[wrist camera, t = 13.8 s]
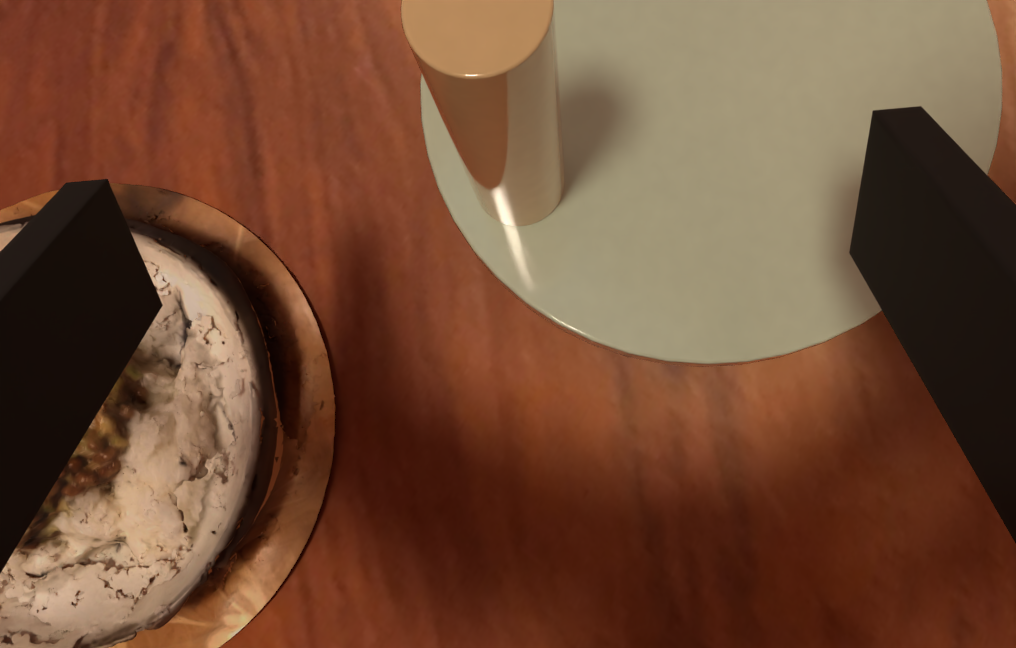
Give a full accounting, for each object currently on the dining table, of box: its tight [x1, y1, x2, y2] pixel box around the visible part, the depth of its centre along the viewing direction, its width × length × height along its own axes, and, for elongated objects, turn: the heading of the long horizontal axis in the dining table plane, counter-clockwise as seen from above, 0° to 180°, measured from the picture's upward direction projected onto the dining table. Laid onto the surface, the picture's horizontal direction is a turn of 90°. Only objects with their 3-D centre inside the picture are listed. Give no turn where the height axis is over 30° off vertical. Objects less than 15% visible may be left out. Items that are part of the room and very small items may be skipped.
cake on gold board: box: [0, 183, 336, 648], centre depth 23 cm, size 15×15×4 cm
